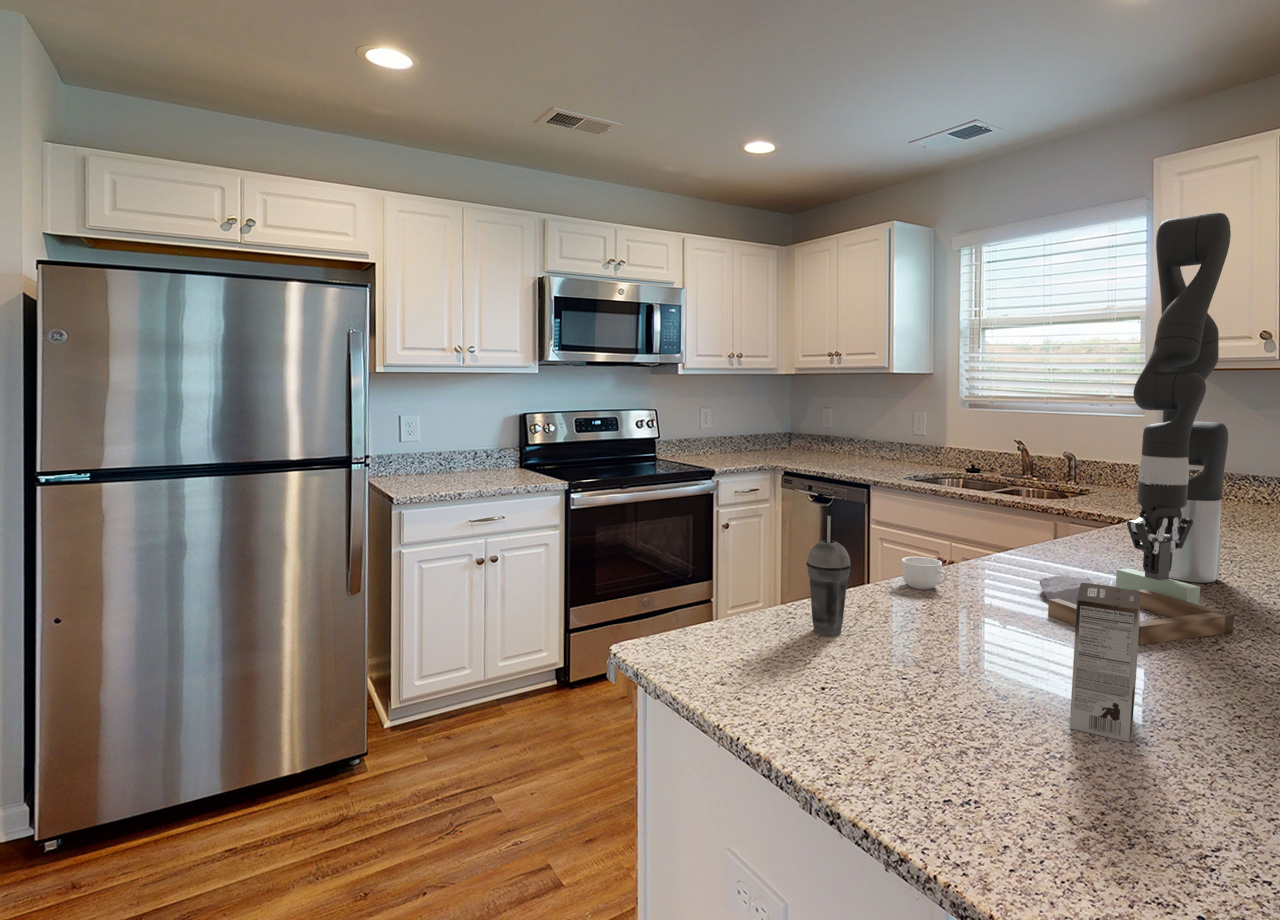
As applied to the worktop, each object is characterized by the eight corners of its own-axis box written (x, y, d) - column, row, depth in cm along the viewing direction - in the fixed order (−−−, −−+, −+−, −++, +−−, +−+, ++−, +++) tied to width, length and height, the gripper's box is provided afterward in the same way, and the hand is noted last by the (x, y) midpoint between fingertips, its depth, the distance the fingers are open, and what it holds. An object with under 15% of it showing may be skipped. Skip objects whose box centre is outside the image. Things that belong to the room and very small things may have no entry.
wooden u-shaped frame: (1142, 604, 136) (1143, 589, 136) (1232, 632, 121) (1234, 614, 121) (1047, 615, 130) (1048, 599, 130) (1130, 646, 115) (1131, 627, 115)
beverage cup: (850, 627, 125) (853, 512, 123) (848, 641, 118) (851, 519, 116) (807, 622, 127) (809, 509, 125) (802, 636, 120) (804, 517, 118)
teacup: (892, 584, 151) (893, 559, 151) (918, 579, 155) (919, 555, 154) (932, 596, 143) (933, 569, 142) (958, 591, 146) (959, 565, 146)
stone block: (1056, 617, 136) (1114, 609, 134) (1051, 592, 136) (1109, 583, 134) (1034, 601, 147) (1088, 593, 145) (1030, 577, 147) (1083, 570, 145)
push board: (1115, 594, 143) (1118, 534, 142) (1127, 593, 144) (1130, 533, 143) (1185, 615, 130) (1190, 549, 129) (1198, 614, 131) (1203, 548, 130)
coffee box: (1073, 702, 95) (1080, 581, 93) (1133, 714, 91) (1141, 588, 90) (1067, 729, 87) (1074, 598, 86) (1132, 743, 84) (1140, 607, 82)
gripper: (1172, 476, 140) (1165, 564, 142) (1115, 479, 136) (1109, 569, 138) (1212, 481, 133) (1205, 574, 135) (1153, 484, 129) (1146, 579, 131)
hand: (1156, 571), depth 136 cm, fingers closed on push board, 2 cm apart
